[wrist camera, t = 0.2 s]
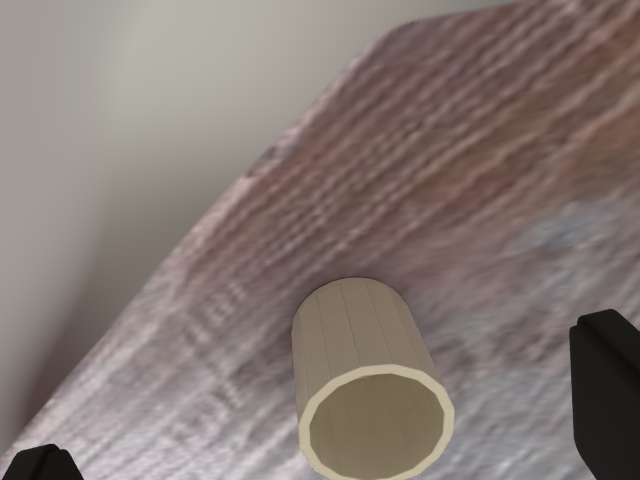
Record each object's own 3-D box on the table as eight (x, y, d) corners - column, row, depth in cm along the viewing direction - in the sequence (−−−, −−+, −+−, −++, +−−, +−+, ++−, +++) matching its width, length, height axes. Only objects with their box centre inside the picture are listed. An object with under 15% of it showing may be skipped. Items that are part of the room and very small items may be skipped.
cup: (265, 337, 32) (266, 440, 25) (350, 253, 30) (378, 336, 23) (352, 399, 34) (376, 509, 27) (436, 323, 32) (485, 419, 25)
